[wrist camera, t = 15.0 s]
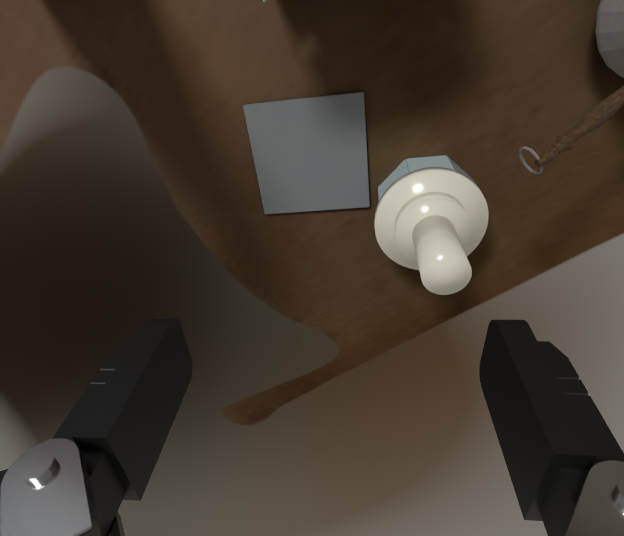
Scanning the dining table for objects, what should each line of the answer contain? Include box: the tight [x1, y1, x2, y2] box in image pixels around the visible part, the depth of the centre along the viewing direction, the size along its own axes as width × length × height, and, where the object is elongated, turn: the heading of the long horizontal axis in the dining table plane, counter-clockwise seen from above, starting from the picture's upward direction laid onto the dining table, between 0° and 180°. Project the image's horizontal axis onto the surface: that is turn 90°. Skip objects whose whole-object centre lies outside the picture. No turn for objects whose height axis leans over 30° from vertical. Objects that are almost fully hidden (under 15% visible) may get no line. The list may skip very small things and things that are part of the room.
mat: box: [243, 92, 370, 214], centre depth 44 cm, size 12×12×1 cm
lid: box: [374, 167, 489, 295], centre depth 38 cm, size 11×11×10 cm
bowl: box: [378, 155, 478, 202], centre depth 44 cm, size 10×10×4 cm
